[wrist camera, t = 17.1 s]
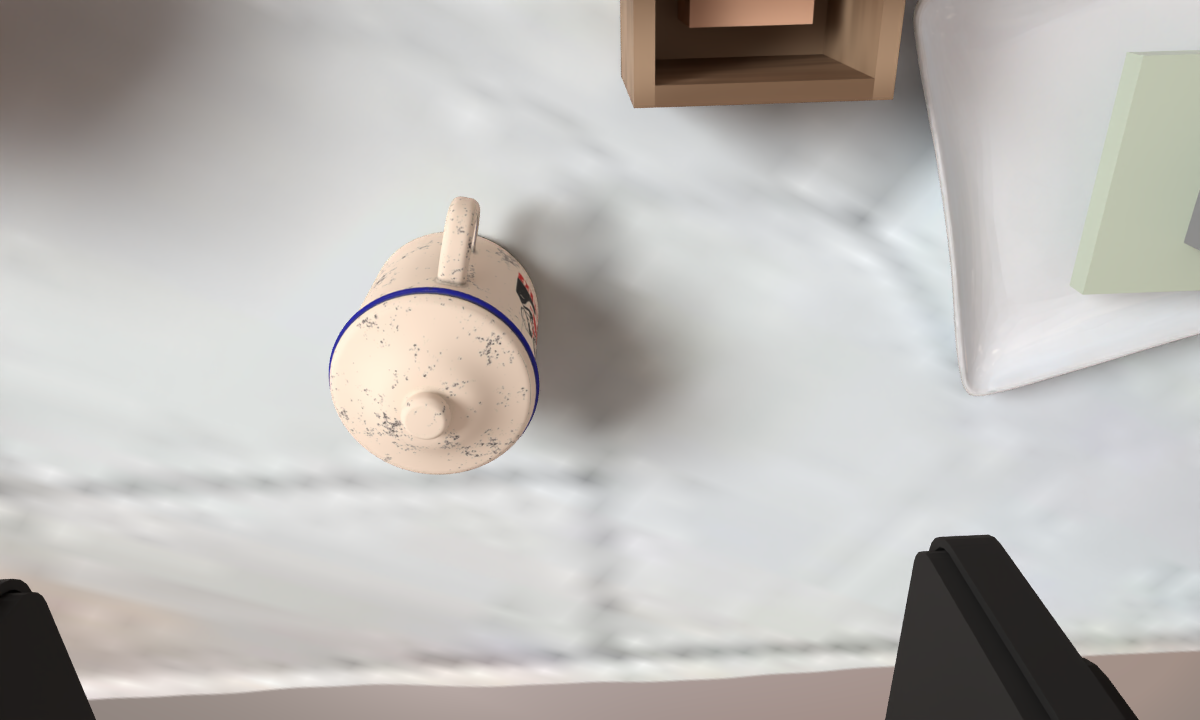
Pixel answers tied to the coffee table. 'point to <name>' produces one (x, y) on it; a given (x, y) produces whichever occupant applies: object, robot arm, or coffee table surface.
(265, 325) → the coffee table surface
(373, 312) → the teacup with lid
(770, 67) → the crate
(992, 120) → the salad plate
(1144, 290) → the lid
